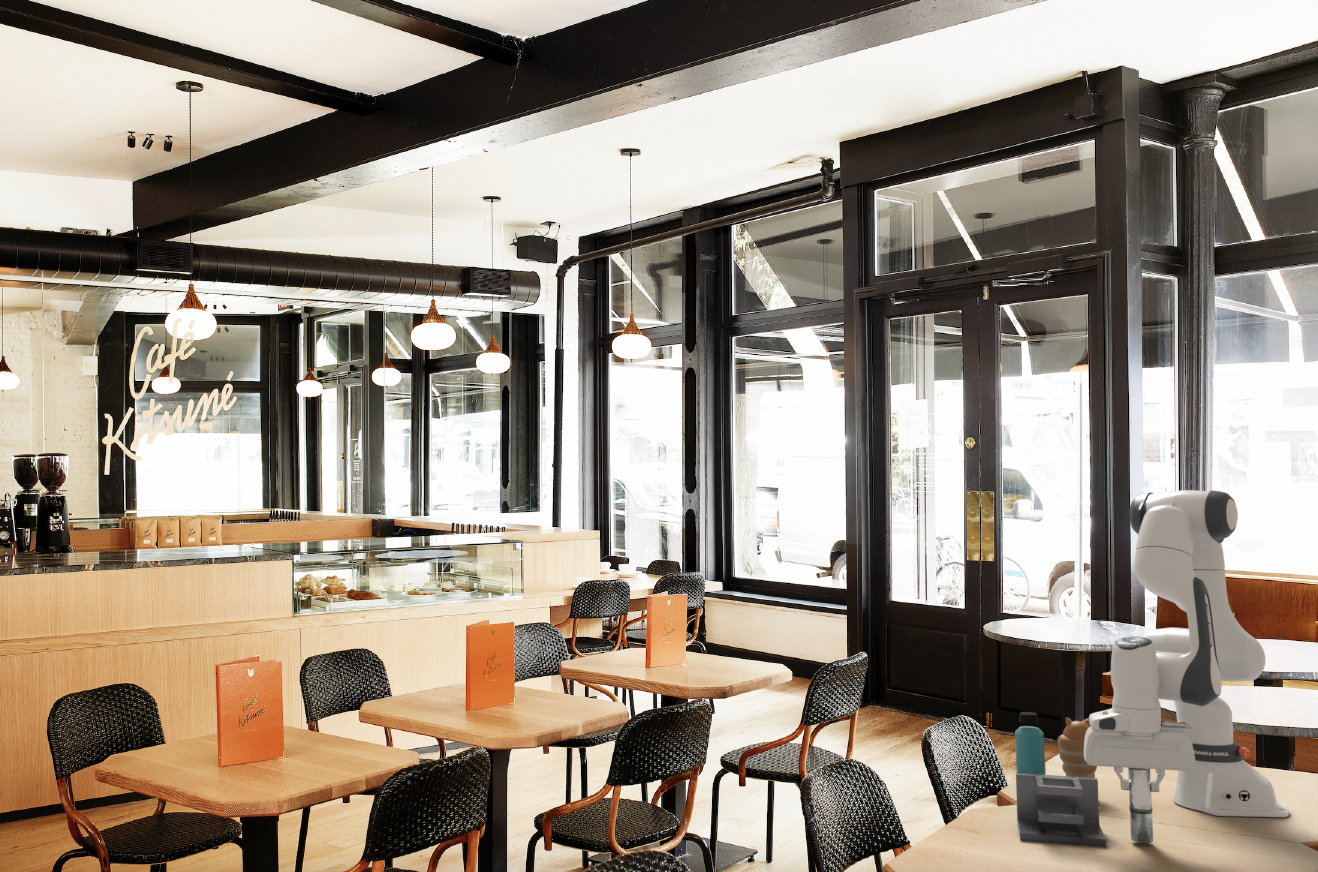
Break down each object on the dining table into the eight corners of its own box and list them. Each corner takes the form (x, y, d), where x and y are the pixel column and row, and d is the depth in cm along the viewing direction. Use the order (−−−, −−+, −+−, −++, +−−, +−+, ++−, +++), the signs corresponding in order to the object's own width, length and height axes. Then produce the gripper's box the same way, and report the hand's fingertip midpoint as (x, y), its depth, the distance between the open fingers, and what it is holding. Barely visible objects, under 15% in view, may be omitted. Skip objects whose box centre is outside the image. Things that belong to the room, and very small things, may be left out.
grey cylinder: (1151, 837, 204) (1148, 766, 205) (1155, 844, 200) (1152, 771, 201) (1129, 835, 205) (1126, 764, 206) (1132, 842, 201) (1129, 770, 202)
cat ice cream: (1097, 793, 239) (1094, 715, 240) (1103, 802, 231) (1100, 722, 232) (1057, 791, 241) (1054, 714, 242) (1062, 800, 233) (1059, 720, 234)
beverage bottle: (1049, 806, 228) (1046, 715, 230) (1018, 804, 230) (1015, 714, 231) (1044, 798, 235) (1041, 710, 236) (1014, 797, 236) (1011, 709, 238)
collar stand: (1098, 829, 212) (1096, 777, 212) (1106, 847, 200) (1104, 792, 201) (1017, 823, 216) (1015, 772, 217) (1020, 840, 205) (1018, 787, 206)
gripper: (1190, 719, 204) (1194, 789, 203) (1081, 714, 210) (1083, 783, 209) (1197, 725, 198) (1201, 798, 197) (1084, 720, 204) (1087, 791, 203)
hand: (1139, 790), depth 203 cm, fingers closed on grey cylinder, 4 cm apart
